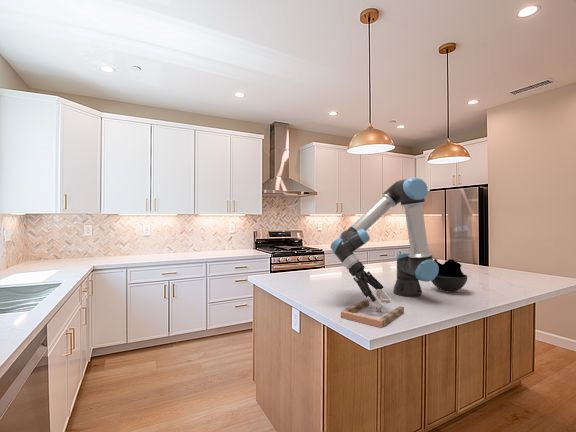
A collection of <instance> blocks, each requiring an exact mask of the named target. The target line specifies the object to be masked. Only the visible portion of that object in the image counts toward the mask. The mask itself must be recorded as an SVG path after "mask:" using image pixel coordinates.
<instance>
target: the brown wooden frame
mask: <svg viewBox="0 0 576 432" xmlns="http://www.w3.org/2000/svg"><path fill="white" fill-rule="evenodd" d="M369 306H370V302H368V299H363V300H360V301H358V302H357V303H355V304H353V305H351V306H348V307H346V308H344V309H343V310H341V311H347V312H351V313H355V314H356V312H359V311H361V310H362V309H364V308H366V307H369ZM404 313H405V307H404V306H401V305H399V306H398V307H395V309H393V310H391V311H390V312H388V313H387V314H385V315H384V316H382V317H380V318H379V319H381V320H383V327H386V326H388V325H389V324H390V323H391V322H393V321H395V319H397V318H398V317H400V316H401V315H403V314H404Z"/></svg>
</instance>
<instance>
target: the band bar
mask: <svg viewBox="0 0 576 432" xmlns="http://www.w3.org/2000/svg"><path fill="white" fill-rule="evenodd" d="M340 318H342V319H345V320H350V321H354V322H357V323H360V324H365V325H367V326H368V325H370V326H373V327H376V328H382V327H384V326H383V320H381V319H380V318H375V317H371V316H367V315H363V314H358V313H356V312H355V313H351V312H347V311H342V310H341V311H340Z"/></svg>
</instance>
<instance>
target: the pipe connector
mask: <svg viewBox="0 0 576 432" xmlns="http://www.w3.org/2000/svg"><path fill="white" fill-rule="evenodd" d="M376 297H377V298H378V299H379V300H380V301H381V303H382V304H383V303H384V304H387V303H388V304H391V301H390V299H391V298H390V299H383V298H382V297H381V290H380V289H377V290H376ZM367 300H368V302H369V303H373V301H372V300H371V299H370V297H367ZM381 309H382V306H381V307H380V308H379V309H378V308H377V307H376V312H378V313H381V311H382V310H381Z"/></svg>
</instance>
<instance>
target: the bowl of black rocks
mask: <svg viewBox="0 0 576 432" xmlns="http://www.w3.org/2000/svg"><path fill="white" fill-rule="evenodd" d="M433 259H434V260H433V261H435V262H436V263H437V264H438V267H439V272H438V275H437V276H436V277H435V279H433V280H432V281H431V282H432V284H433V285H434V286H435V287H436V288H437V289H439V290H440V291H443V292H447V291H448V292H451V293H452V292H457V291H459V290H461V289H462V288H463V287H464V286H465V285H466V284H467V281H468V275H467V274H464V273H463V271H462V268H461V267H462V264H461V263H460V262H458V261H455V260H454V259H447V260H446V261H444V263H440V261H438V260H437V259H436V258H433Z"/></svg>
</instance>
